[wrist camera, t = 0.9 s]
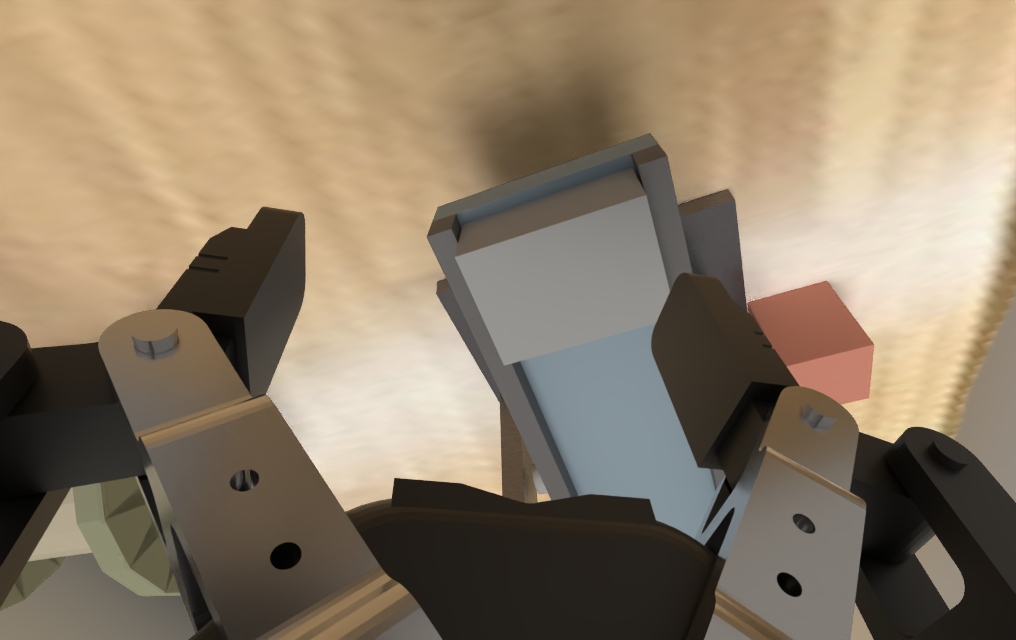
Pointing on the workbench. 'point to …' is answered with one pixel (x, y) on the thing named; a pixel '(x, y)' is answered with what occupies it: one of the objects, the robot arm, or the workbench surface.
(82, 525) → the spool
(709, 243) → the pivot stand
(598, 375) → the balance beam
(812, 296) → the block
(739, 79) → the workbench surface
